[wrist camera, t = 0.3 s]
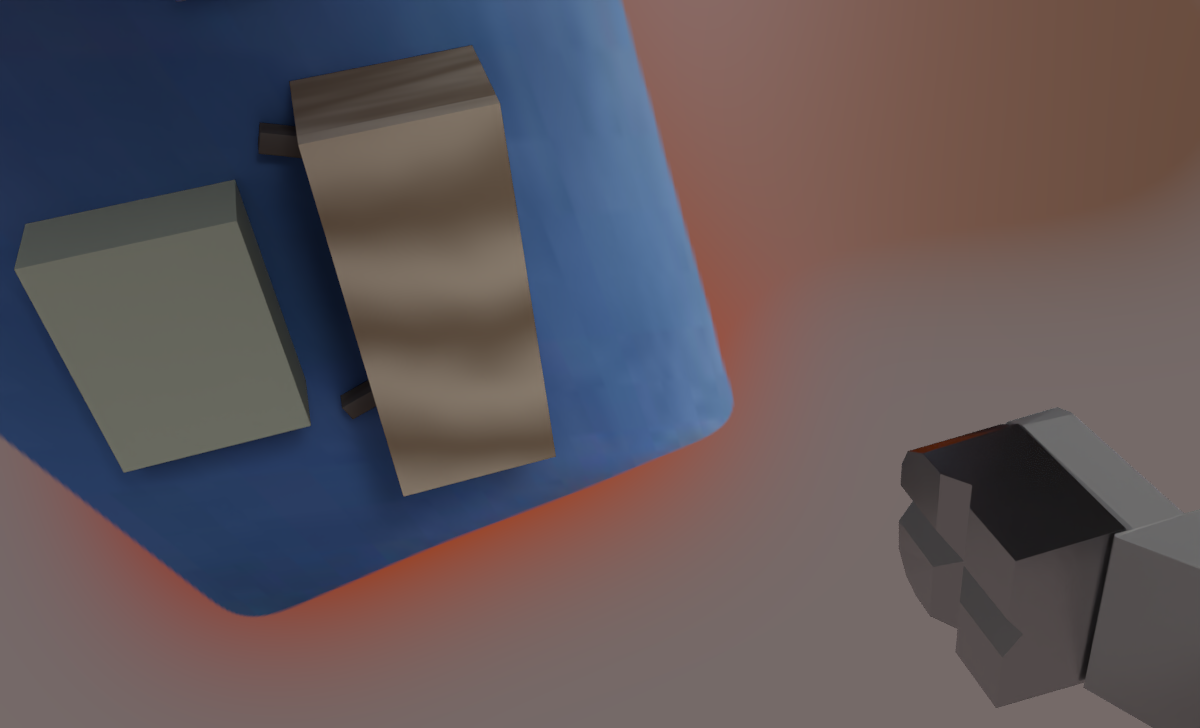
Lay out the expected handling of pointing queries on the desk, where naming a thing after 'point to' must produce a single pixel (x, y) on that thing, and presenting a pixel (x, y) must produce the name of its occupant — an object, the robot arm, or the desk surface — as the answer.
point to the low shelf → (426, 260)
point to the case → (167, 323)
